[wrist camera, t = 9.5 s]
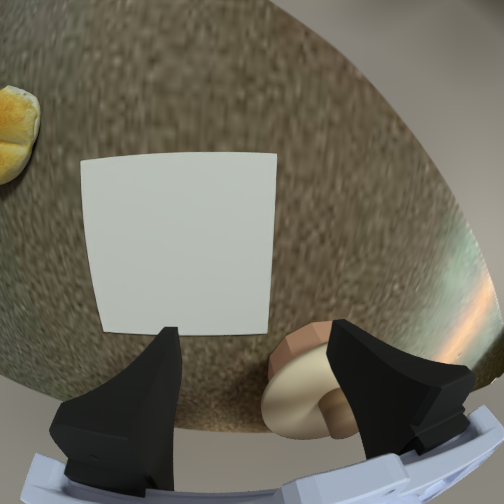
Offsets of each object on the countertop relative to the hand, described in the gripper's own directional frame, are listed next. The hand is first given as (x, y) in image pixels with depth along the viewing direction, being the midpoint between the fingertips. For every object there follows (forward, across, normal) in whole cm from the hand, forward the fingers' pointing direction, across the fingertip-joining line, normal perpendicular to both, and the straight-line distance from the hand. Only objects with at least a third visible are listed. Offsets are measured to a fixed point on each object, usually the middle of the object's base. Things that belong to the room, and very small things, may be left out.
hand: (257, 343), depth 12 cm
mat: (+10, +5, -1) cm, 12 cm away
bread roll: (+11, +22, -12) cm, 27 cm away
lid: (+5, -8, +11) cm, 14 cm away
